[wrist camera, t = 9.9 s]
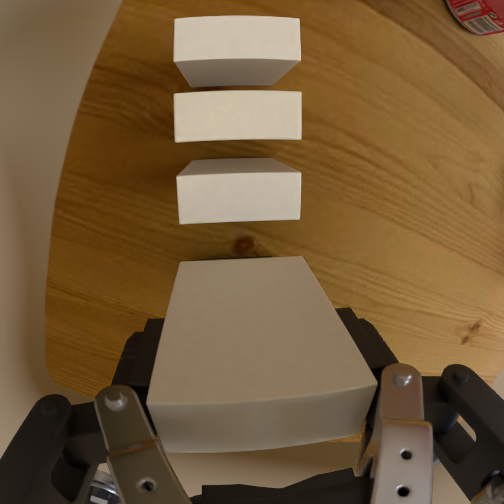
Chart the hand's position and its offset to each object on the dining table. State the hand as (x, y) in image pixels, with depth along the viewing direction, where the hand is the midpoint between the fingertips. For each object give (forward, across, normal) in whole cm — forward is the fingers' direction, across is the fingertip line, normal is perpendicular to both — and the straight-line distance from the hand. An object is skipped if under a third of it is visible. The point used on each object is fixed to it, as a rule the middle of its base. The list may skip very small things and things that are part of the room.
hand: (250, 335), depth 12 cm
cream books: (+14, 0, -5) cm, 15 cm away
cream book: (+5, 0, 0) cm, 5 cm away
